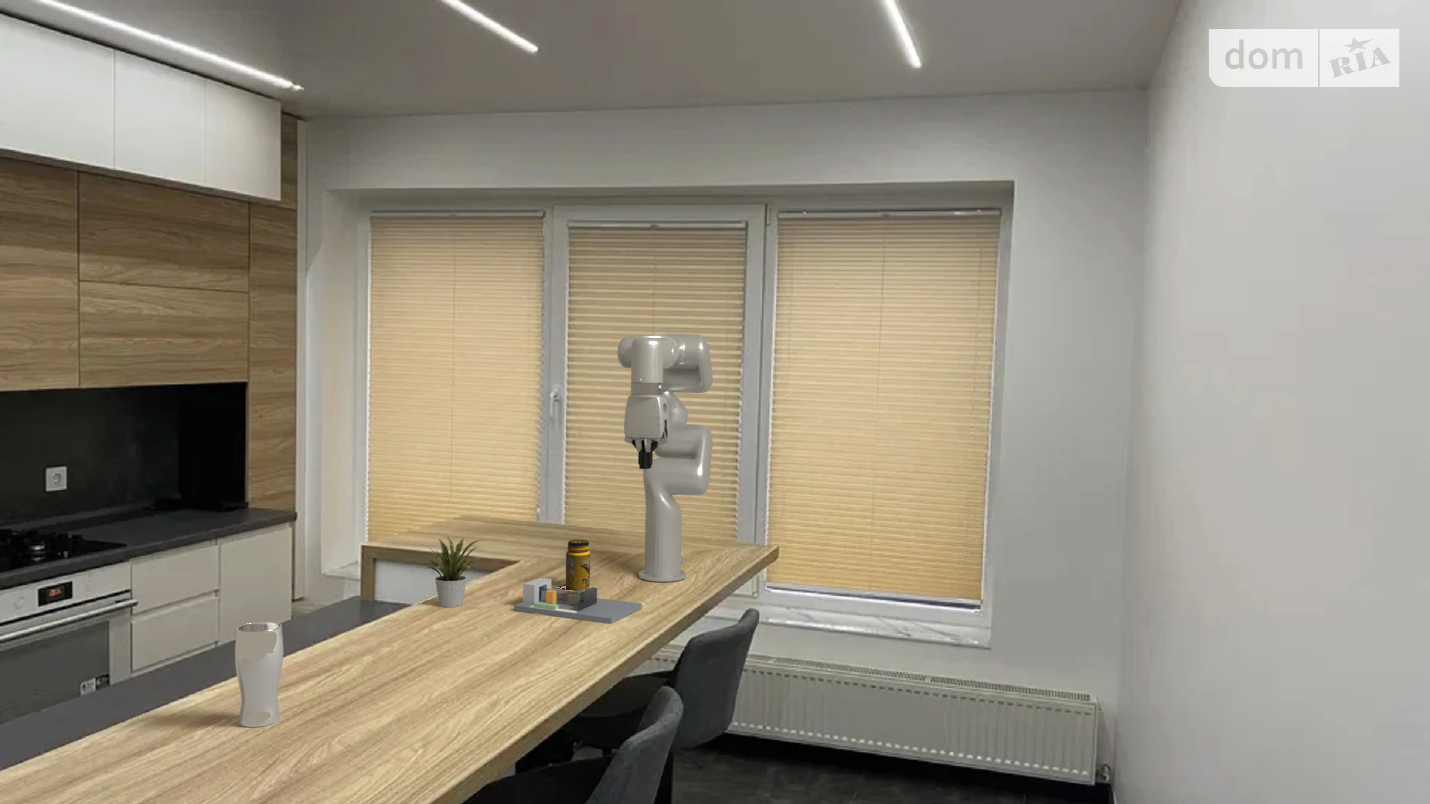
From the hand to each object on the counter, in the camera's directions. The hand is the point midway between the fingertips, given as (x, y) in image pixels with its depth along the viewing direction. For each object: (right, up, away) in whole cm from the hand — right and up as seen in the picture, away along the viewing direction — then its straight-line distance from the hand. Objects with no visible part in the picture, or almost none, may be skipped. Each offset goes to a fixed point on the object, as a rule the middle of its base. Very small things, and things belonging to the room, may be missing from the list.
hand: (645, 468), depth 243 cm
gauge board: (-15, -32, -6) cm, 36 cm away
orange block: (-21, -31, -8) cm, 38 cm away
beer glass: (-56, -35, -80) cm, 103 cm away
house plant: (-43, -32, -4) cm, 54 cm away
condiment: (-19, -31, +15) cm, 40 cm away
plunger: (-20, -31, -5) cm, 37 cm away
